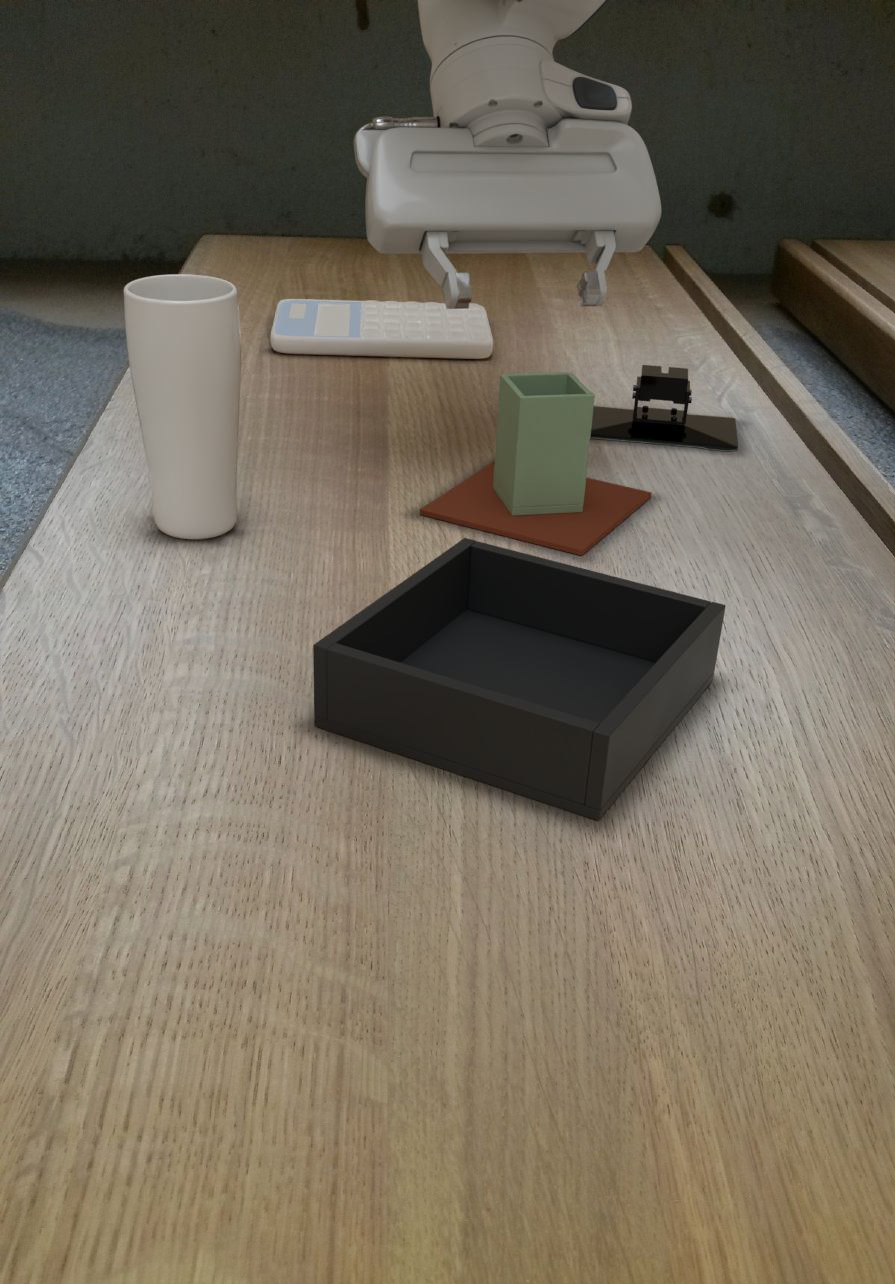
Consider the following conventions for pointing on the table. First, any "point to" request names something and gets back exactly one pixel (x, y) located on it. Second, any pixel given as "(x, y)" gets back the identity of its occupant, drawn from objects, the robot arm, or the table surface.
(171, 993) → the table surface
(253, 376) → the table surface
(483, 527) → the mat
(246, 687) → the table surface
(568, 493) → the box
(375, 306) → the calculator
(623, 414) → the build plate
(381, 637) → the bin
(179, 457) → the drinking glass
